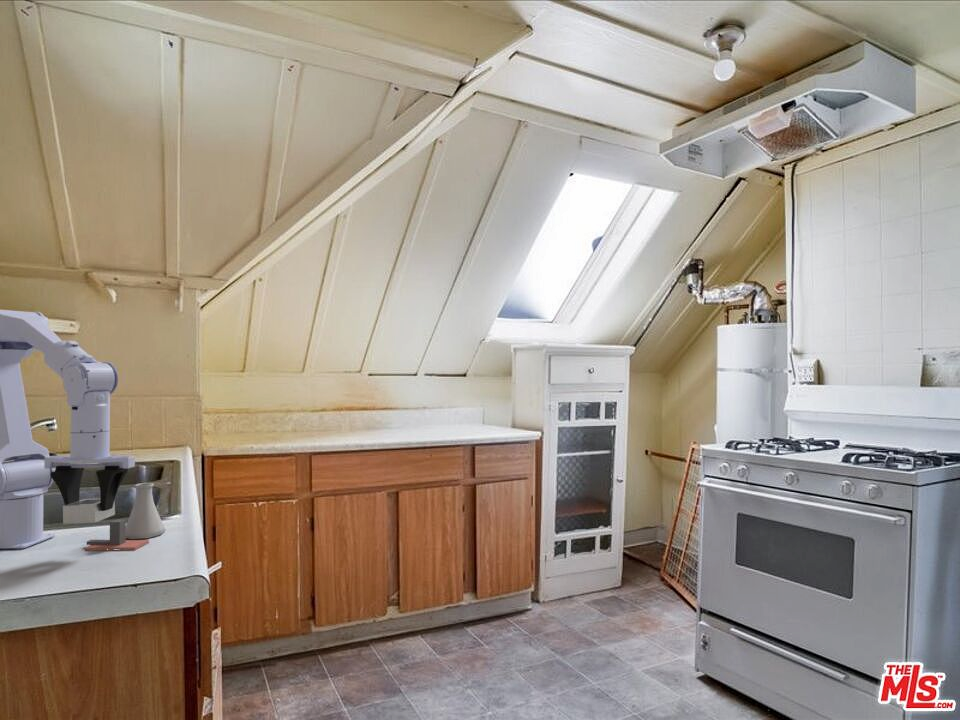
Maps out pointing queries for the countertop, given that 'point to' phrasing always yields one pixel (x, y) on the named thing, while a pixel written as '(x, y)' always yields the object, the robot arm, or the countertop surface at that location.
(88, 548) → the keeper hook
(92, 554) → the countertop surface
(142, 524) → the flask
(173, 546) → the countertop surface
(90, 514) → the link
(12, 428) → the robot arm
